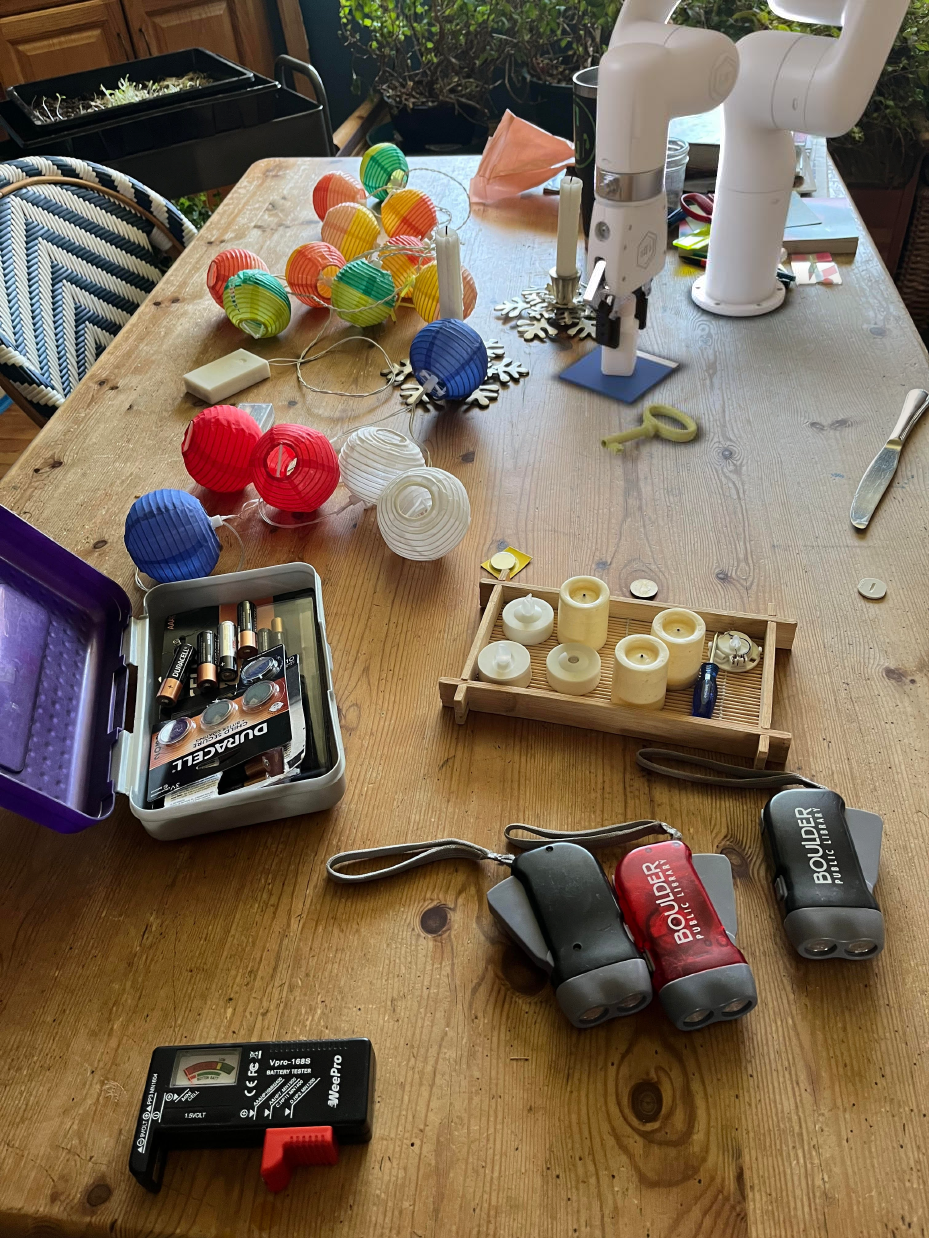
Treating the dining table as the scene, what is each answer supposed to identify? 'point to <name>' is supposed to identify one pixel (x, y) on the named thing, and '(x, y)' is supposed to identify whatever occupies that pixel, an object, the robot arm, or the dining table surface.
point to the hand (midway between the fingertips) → (620, 334)
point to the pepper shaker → (623, 341)
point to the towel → (615, 386)
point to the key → (653, 428)
